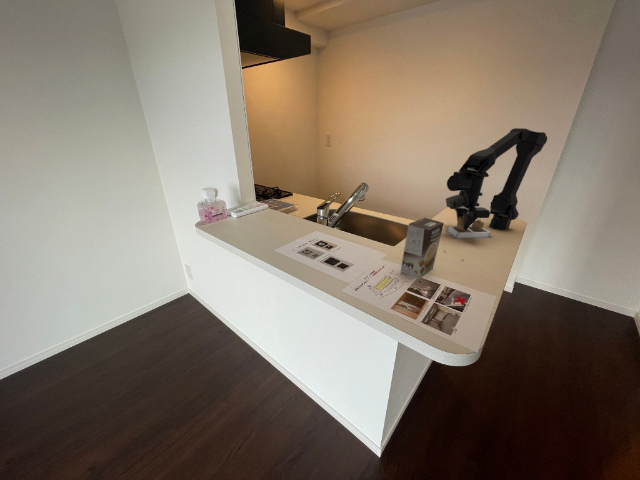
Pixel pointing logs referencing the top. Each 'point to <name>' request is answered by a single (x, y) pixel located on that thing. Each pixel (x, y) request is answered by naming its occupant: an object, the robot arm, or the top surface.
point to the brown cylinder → (461, 224)
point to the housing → (467, 233)
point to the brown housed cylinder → (477, 226)
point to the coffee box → (421, 247)
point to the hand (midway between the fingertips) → (462, 227)
